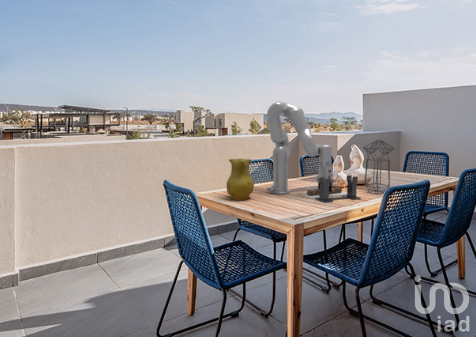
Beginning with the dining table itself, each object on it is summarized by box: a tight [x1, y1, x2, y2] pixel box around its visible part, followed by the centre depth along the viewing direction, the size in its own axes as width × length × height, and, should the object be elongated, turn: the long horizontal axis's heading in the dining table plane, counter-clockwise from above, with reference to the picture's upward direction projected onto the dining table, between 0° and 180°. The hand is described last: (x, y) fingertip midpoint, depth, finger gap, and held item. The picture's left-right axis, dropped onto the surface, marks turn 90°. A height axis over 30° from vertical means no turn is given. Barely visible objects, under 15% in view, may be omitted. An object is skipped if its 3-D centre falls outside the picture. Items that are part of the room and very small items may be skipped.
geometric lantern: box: [362, 139, 396, 195], centre depth 234 cm, size 16×16×35 cm
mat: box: [300, 191, 347, 199], centre depth 230 cm, size 28×12×1 cm, turn 111°
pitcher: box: [225, 158, 255, 201], centre depth 222 cm, size 17×19×25 cm
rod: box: [306, 186, 343, 196], centre depth 230 cm, size 24×4×4 cm, turn 111°
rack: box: [314, 174, 362, 204], centre depth 216 cm, size 26×10×14 cm, turn 111°
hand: (324, 190), depth 230 cm, fingers open, 9 cm apart
